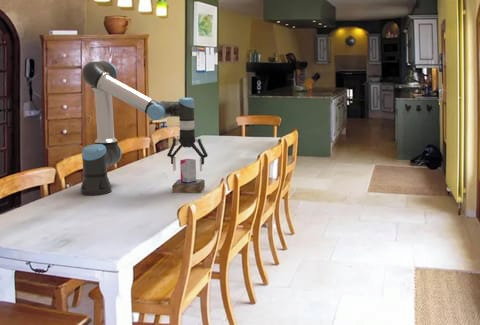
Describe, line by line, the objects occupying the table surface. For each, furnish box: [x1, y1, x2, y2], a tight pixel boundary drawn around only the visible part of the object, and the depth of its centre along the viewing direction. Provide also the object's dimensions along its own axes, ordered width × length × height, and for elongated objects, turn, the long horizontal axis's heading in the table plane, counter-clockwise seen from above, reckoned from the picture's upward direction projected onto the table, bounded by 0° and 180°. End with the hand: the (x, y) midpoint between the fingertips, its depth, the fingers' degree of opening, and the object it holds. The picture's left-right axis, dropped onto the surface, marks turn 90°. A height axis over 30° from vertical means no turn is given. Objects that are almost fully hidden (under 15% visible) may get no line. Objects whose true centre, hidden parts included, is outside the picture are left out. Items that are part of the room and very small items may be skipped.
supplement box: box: [179, 158, 197, 183], centre depth 291 cm, size 6×6×12 cm
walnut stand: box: [171, 178, 206, 194], centre depth 293 cm, size 14×14×4 cm
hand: (187, 170), depth 291 cm, fingers open, 13 cm apart
